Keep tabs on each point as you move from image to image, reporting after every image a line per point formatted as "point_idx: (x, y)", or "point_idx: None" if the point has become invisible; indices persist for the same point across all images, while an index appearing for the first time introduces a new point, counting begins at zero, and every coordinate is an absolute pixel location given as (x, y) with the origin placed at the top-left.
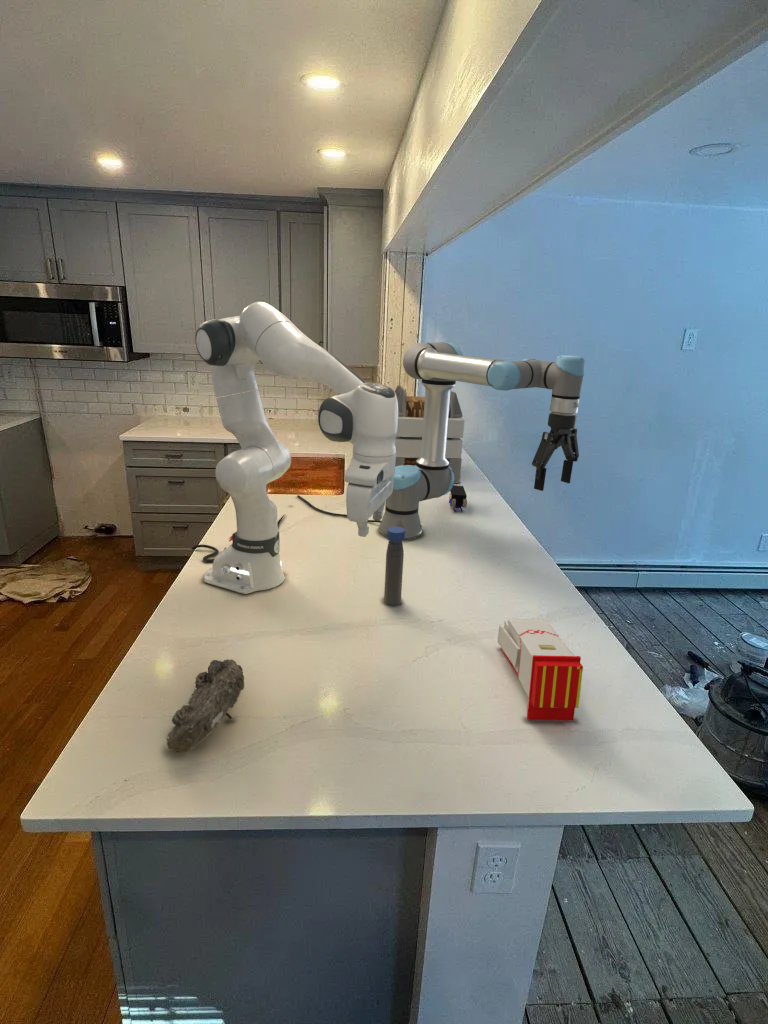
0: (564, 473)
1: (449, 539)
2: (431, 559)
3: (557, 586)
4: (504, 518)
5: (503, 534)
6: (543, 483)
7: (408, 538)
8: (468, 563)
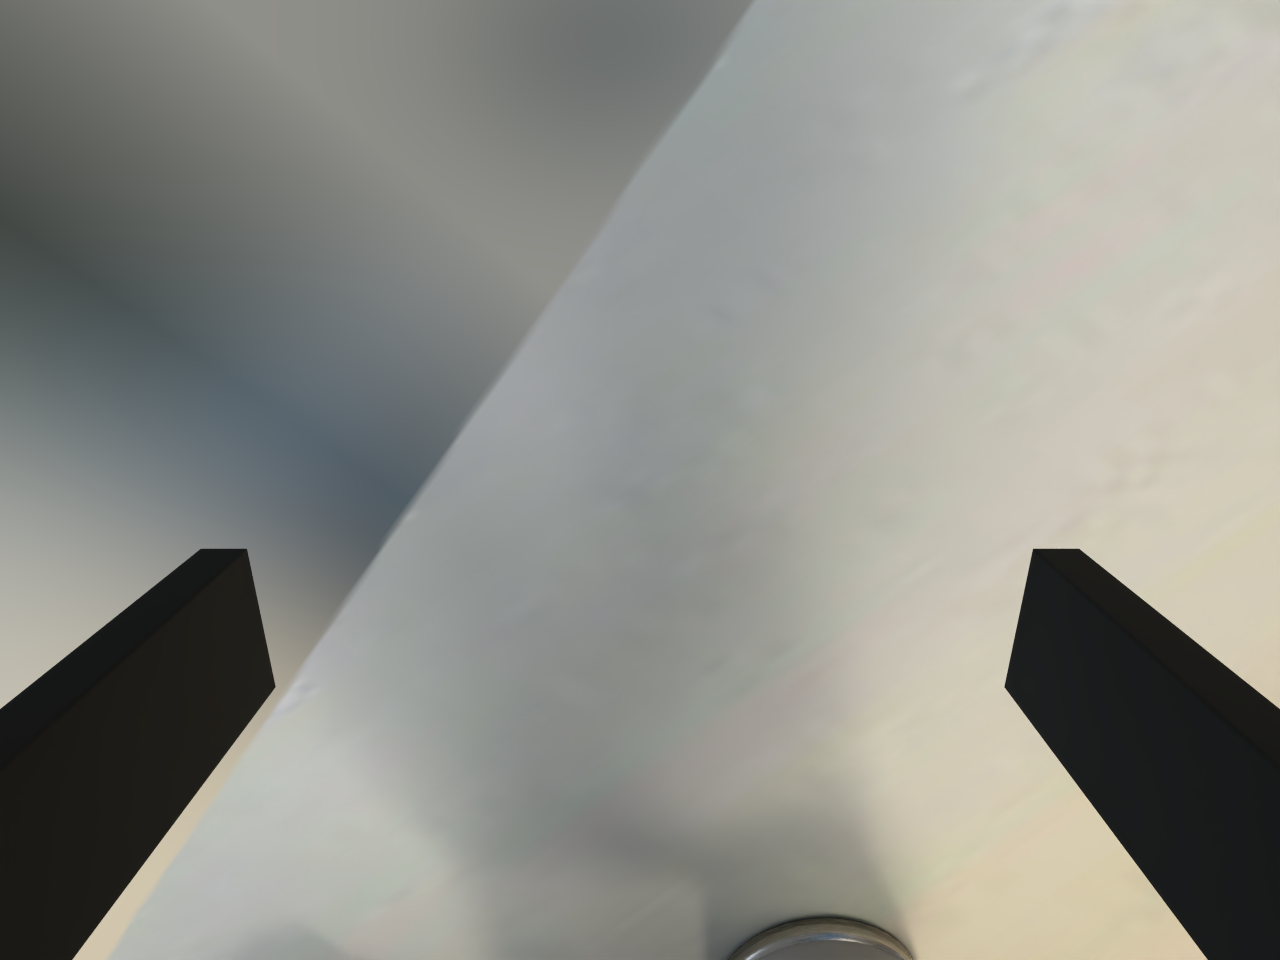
0: (177, 749)
1: (691, 840)
2: (958, 743)
3: (713, 150)
4: (209, 865)
5: (390, 745)
6: (1148, 618)
7: (865, 929)
8: (856, 623)
